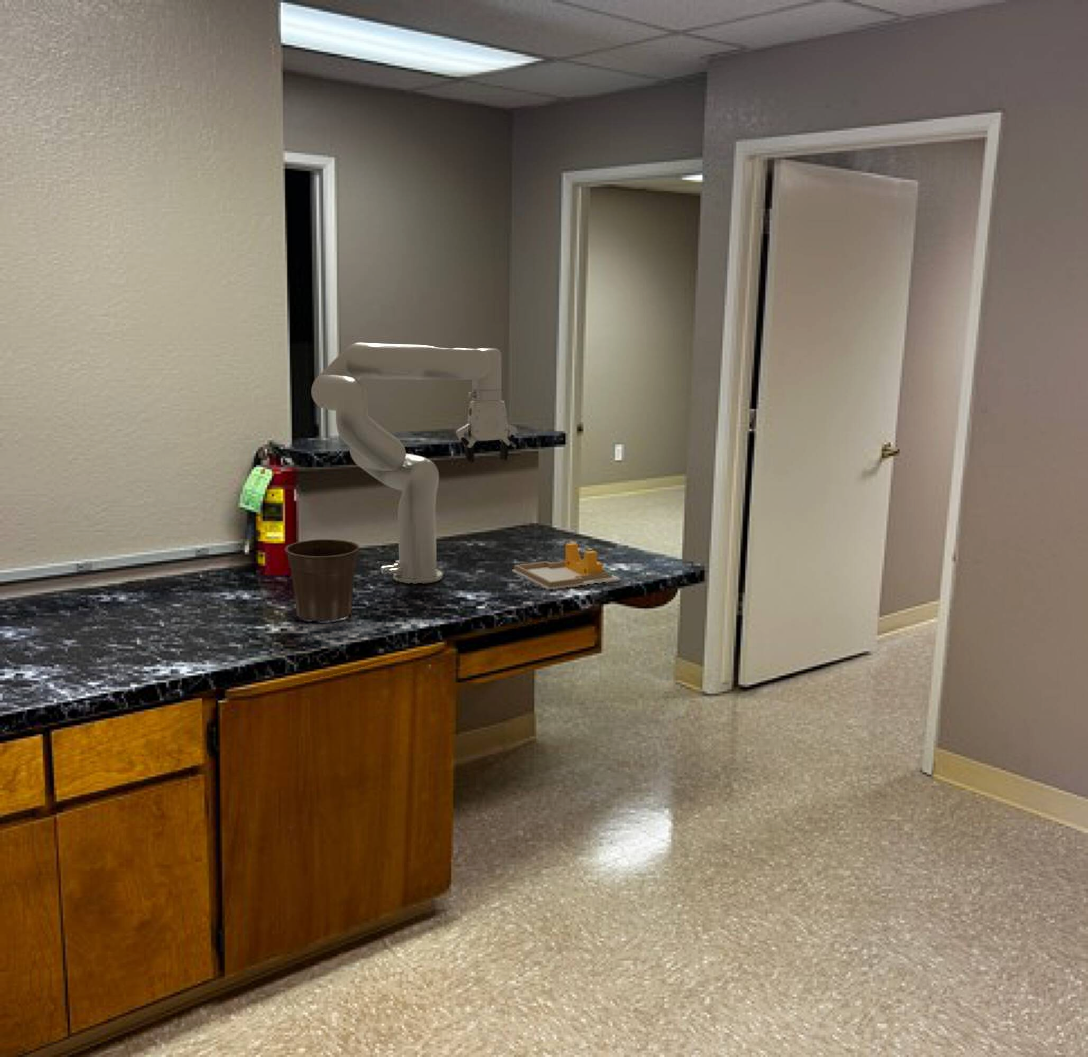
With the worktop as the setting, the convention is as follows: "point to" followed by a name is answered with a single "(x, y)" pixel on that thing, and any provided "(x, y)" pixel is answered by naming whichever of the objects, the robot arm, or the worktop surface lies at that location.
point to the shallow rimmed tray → (559, 575)
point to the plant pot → (323, 577)
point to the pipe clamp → (582, 561)
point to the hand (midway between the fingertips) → (487, 460)
